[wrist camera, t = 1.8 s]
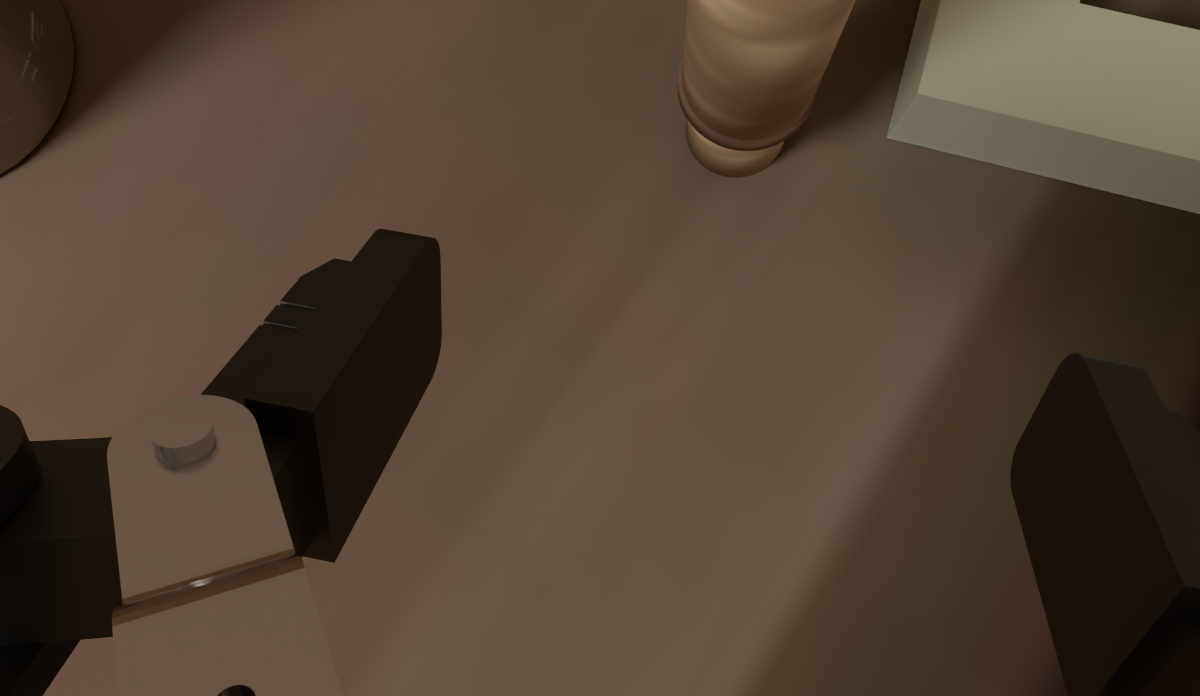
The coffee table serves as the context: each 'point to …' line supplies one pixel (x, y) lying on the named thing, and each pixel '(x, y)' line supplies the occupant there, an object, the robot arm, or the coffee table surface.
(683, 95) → the peg
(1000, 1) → the white flat square block
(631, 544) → the coffee table surface
